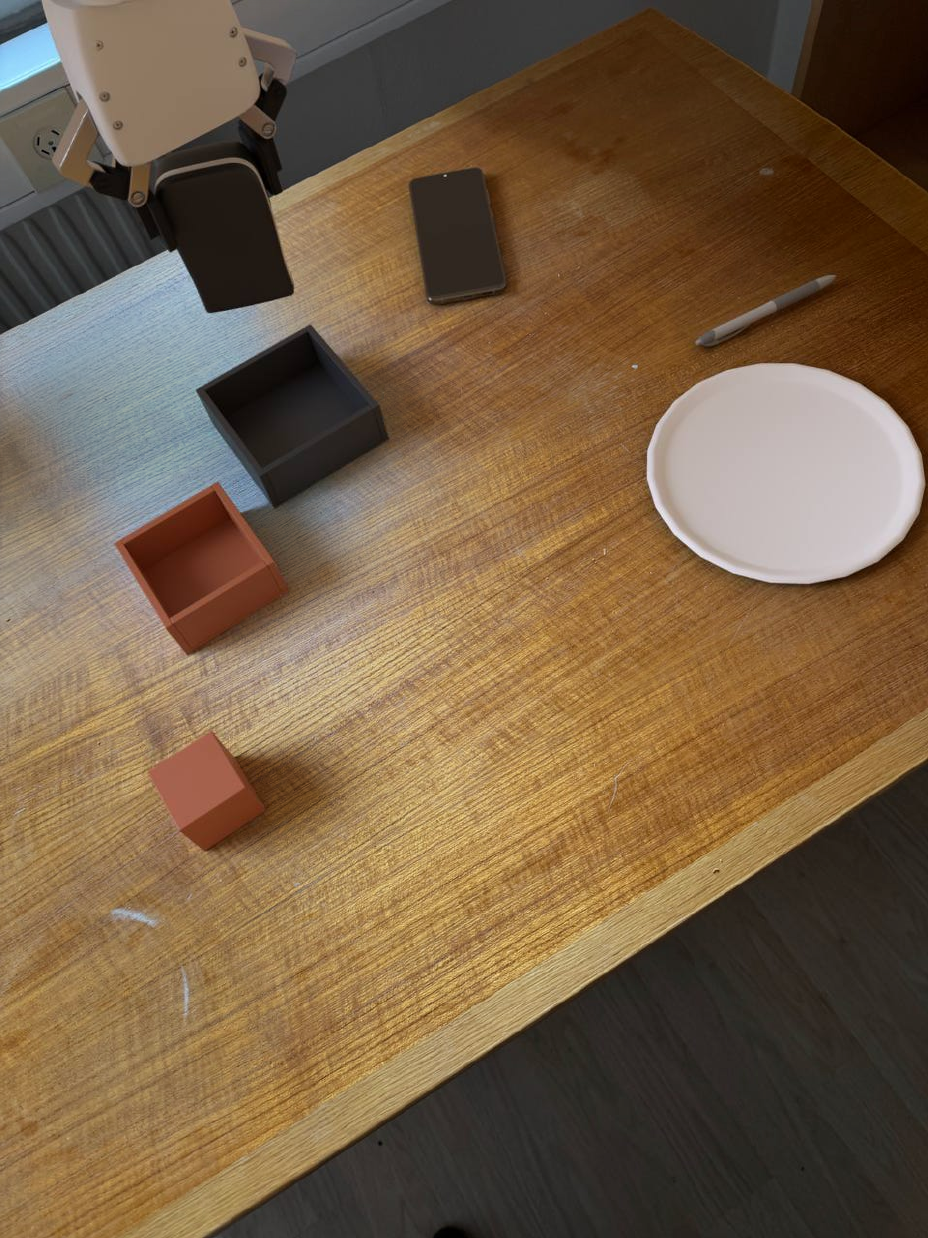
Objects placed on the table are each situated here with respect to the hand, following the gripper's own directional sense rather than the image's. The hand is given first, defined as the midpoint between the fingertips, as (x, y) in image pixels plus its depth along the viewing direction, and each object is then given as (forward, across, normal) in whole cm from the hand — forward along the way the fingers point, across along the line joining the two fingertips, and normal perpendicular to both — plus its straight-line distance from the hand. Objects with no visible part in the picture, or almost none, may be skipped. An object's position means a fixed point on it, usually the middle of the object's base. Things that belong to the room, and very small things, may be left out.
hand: (216, 209), depth 69 cm
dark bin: (+22, 0, +1) cm, 22 cm away
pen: (+22, -37, +16) cm, 46 cm away
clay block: (+22, +22, +26) cm, 41 cm away
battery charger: (+7, 0, 0) cm, 7 cm away
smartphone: (+22, -22, -9) cm, 33 cm away
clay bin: (+22, +14, +10) cm, 28 cm away
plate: (+22, -27, +29) cm, 46 cm away
